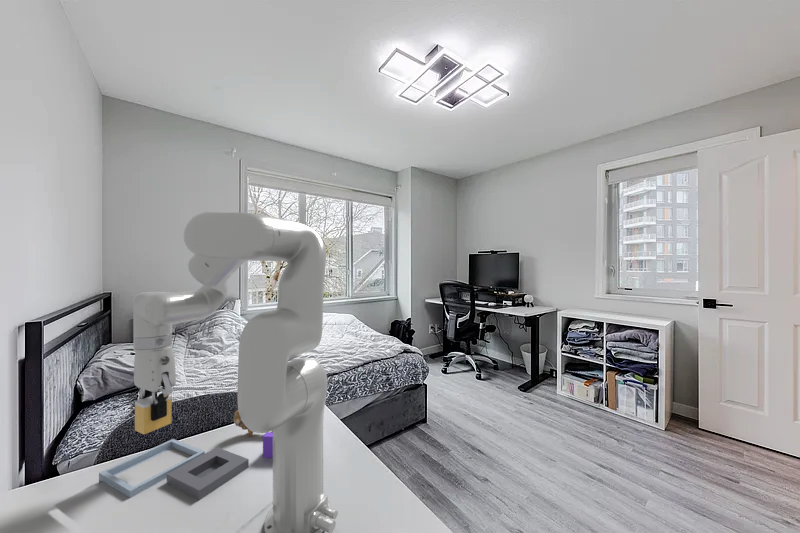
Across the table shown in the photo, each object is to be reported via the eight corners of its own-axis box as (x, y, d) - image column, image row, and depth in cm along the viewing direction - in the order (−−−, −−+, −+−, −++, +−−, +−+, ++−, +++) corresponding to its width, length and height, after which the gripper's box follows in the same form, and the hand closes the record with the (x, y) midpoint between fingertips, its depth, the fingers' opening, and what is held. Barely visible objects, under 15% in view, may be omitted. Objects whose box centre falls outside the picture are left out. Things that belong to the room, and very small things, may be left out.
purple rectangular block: (288, 464, 81) (288, 437, 81) (262, 462, 82) (262, 436, 82) (306, 438, 93) (306, 415, 93) (283, 437, 94) (283, 414, 94)
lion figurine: (231, 446, 89) (231, 414, 89) (236, 436, 94) (236, 405, 94) (286, 438, 93) (286, 407, 93) (288, 429, 98) (288, 400, 98)
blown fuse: (171, 423, 80) (171, 395, 80) (143, 434, 75) (144, 405, 75) (162, 419, 82) (162, 392, 82) (134, 430, 76) (134, 401, 76)
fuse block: (248, 471, 78) (248, 459, 78) (199, 504, 67) (199, 490, 67) (217, 458, 83) (217, 447, 83) (166, 487, 72) (166, 474, 72)
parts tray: (204, 460, 82) (204, 451, 82) (130, 502, 68) (130, 491, 68) (173, 447, 88) (173, 438, 88) (99, 482, 74) (98, 472, 74)
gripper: (189, 342, 78) (189, 417, 78) (151, 335, 85) (152, 403, 85) (155, 349, 71) (155, 431, 71) (117, 341, 78) (117, 415, 78)
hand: (153, 415), depth 78 cm, fingers closed on blown fuse, 4 cm apart
